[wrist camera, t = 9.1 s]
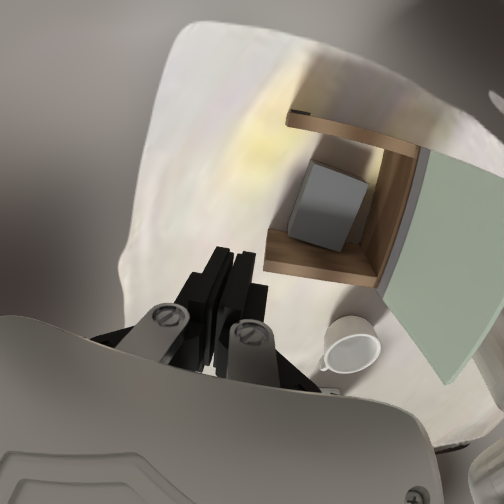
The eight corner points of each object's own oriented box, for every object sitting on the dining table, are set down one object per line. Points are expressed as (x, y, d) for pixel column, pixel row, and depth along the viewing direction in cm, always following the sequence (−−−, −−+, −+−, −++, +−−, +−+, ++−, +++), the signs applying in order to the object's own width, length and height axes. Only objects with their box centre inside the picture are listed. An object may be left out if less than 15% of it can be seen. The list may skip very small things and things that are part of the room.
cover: (420, 146, 20) (428, 149, 20) (375, 291, 26) (383, 291, 26) (541, 198, 9) (546, 201, 9) (444, 385, 16) (452, 382, 16)
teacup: (349, 297, 37) (357, 324, 32) (382, 324, 38) (391, 349, 33) (299, 340, 41) (300, 367, 36) (334, 361, 42) (337, 387, 37)
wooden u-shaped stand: (396, 137, 27) (428, 146, 20) (364, 257, 34) (382, 291, 27) (287, 111, 27) (290, 108, 20) (266, 240, 34) (262, 273, 27)
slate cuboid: (360, 177, 30) (368, 184, 27) (334, 239, 33) (340, 252, 30) (310, 158, 29) (314, 163, 26) (287, 223, 33) (288, 236, 30)
